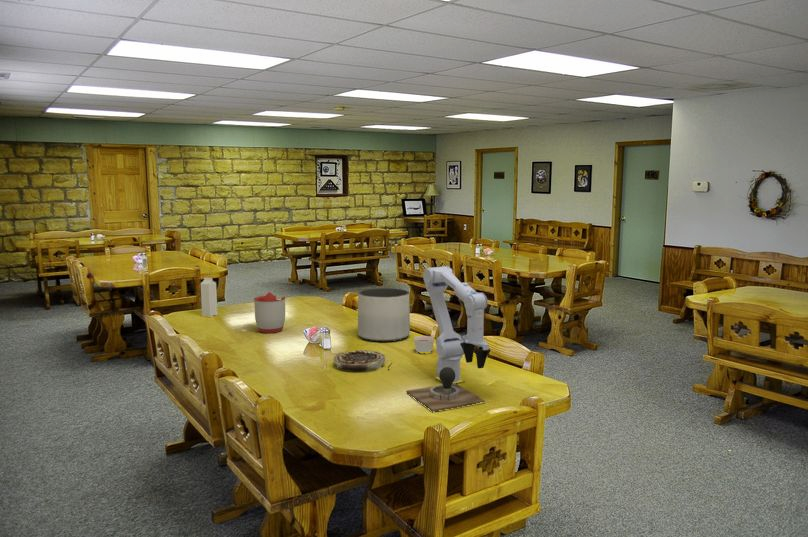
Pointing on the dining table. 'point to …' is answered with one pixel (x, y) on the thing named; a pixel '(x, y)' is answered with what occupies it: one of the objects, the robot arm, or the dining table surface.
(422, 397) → the socket board
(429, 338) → the candle
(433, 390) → the socket ring
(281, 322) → the citrus juicer
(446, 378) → the light bulb
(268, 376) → the dining table surface
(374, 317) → the planter
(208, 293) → the milk
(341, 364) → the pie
